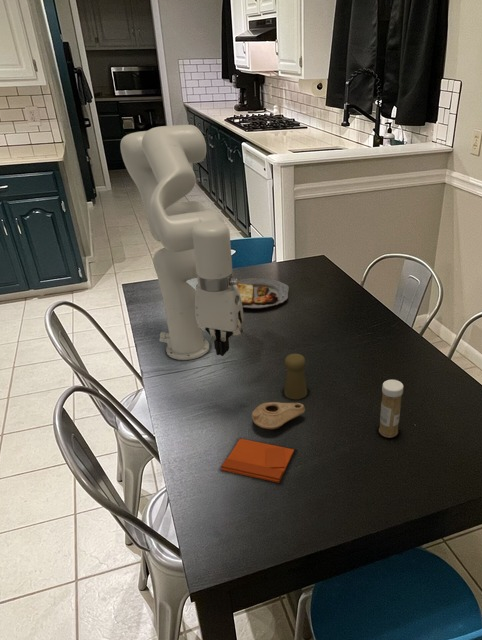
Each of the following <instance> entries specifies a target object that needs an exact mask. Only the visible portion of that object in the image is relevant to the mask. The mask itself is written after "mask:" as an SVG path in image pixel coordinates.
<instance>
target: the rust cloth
mask: <svg viewBox="0 0 482 640" xmlns="http://www.w3.org/2000/svg"><path fill="white" fill-rule="evenodd" d="M294 453H295V449H294V448H289V447H284V446H280V445H274V444H269V443H264V442H259V441H254V440H249V439H244V438H239V439H238V441H237V442H236V444H235V445H234V447H233V449H232V451H231V452H230V454H229V455H228V457H227V458H225V459H224V461H223V463H222V464H221V468H220V469H221V471H222V472H223V471H224V472H228V473H232V474H235V475H236V474H237V475H241V476H246V477H249V478H255V479H259V480H264V481H269V482H273V483H277V484H280V483H281V479H282V478H283V476H284V474H285V472H286V470H287V467H288V466H289V463H290V461H291V459H292V457H293V454H294Z"/></svg>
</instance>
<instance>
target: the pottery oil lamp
mask: <svg viewBox="0 0 482 640" xmlns="http://www.w3.org/2000/svg"><path fill="white" fill-rule="evenodd" d="M305 411H306V408H305V404H303V403H300V402H279V401H270V402H263V403H261V404H259V405H258V406H257V407H255V409H253V410H252V412H251V418H252V422H253V423H254V424H255V425H256V426H258V427H259V428H261V429H266V430H276V429H280V428H281V427H282V426H283V425H285V424H287V423H288V422H290V421H292V420H295V419H297V418H298V417H300V416H301V415H303V414H304V413H305Z"/></svg>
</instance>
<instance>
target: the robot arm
mask: <svg viewBox="0 0 482 640" xmlns="http://www.w3.org/2000/svg"><path fill="white" fill-rule="evenodd" d="M119 146H120V154H121V158H122V161H123V163H124V166H125V168H126V170H127V172H128V174H129V176H130V178H131V179H132V181H133V182H134V184H135V186H136V187H137V190H138V192H139V194H140V198H141V203H142V206H143V210H144V213H145V217H146V220H147V224H148V227H149V230H150V233H151V236H152V237H153V239H154V240H155V241H156V242H160V244H161V245H162V247H163V248H162V247H161V248H160V249H158V250H157V251H156V252H155V253H154V255H153V257H152V262H153V263H152V264H153V268H154V271H155V274H156V277H157V281H158V283H159V287H160V291H161V295H162V296H161V297H162V301H163V306H164V307H163V308H164V311H165V312H164V313H165V319H166V325H167V330H168V332H166V331H161V332H160V334H159V342H160V343H166V344H167V345H166V348H165V351H166V354H167V356H168V357H170V358H172V359H174V360H179V361H189V360H195V359H198V358H200V357H202V356H205V354H207V353H208V352H209V351H210V348H211V347H210V346H211V345H210V342H209V341H208V340H207V339H206V338H205V337H204V333H203V331H205V332H206V333H208V334H209V336H210V338H211V339H212V340H213V347H214V350H215V354H216V356H221V357H224V356H225V355H226V353H227V352H228V351H229V350H230V341H229V340H230V339H229V338H231V337H232V336H241V335H242V333H243V332H244V329H243V326H242V324H243V323H244V322H245V315H244V308H243V307H242V301H241V297H240V293H239V289H238V287H237V285H238V283H239V280H240V279H239V278H237V277H235V275H234V274H235V273H234V272H233V261H232V260H233V258H232V247H231V246H232V245H231V233H230V228H229V226H228V225H227V224H226V222H225V220H224V218H223V216H221V214H220V213H219V212H218V211H216V210H212V209H210V210H207V209H206V208H205V206H204V205H203V203H201V202H199V201H196V200H191V201H190V200H189V201H183V202H178V201H180V200H181V199H183V198H184V197H186V196H187V195H188V194H190V193H191V192H192V190H193V189H194V187H195V185H196V182H197V177H196V174H195V172H194V169H193V167H192V166H191V164H198V163H200V162H201V163H202V162H203V161H204V160H205V159H206V155H207V143H206V139H205V137H204V135H203V133H202V132H201V130H200V129H199V128H198V127H197V126H195V125H193V124H176V125H163V126H162V125H161V126H156V127H152V128H150V129H148V130H143V131H141V130H140V131H135V132H131V133H128V134H126V135H124V136H123V137H122V138H121V140H120V145H119ZM193 279H197V284H196V286H195V288H194V287H193V286H192V285H191V284H190V283H188V282H187V281H191V280H193Z"/></svg>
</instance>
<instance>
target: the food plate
mask: <svg viewBox="0 0 482 640" xmlns="http://www.w3.org/2000/svg"><path fill="white" fill-rule="evenodd" d="M237 287H238V289H239V293H240V297H241V301H242V307H243V309H255V310H258V309H259V310H260V309H267V308H270V307H276V306H279V305H281V304H284V302H287V300H288V298H289V291H290V289H289V285H288V284H287V283H284V282H281V281H279V280H276V279H272V278H267V277H264V278H263V277H251V278H244V279H239V283H238V285H237Z"/></svg>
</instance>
